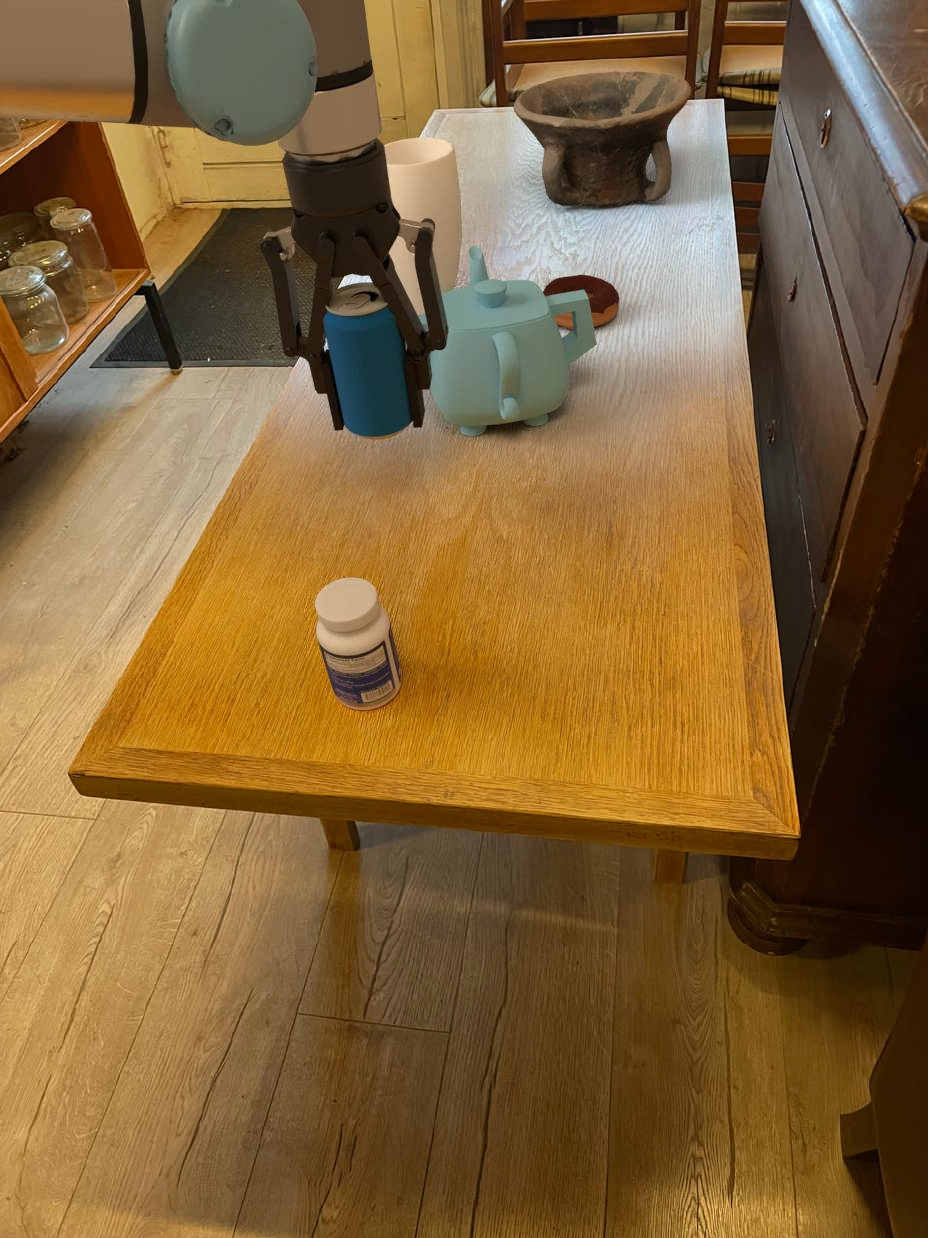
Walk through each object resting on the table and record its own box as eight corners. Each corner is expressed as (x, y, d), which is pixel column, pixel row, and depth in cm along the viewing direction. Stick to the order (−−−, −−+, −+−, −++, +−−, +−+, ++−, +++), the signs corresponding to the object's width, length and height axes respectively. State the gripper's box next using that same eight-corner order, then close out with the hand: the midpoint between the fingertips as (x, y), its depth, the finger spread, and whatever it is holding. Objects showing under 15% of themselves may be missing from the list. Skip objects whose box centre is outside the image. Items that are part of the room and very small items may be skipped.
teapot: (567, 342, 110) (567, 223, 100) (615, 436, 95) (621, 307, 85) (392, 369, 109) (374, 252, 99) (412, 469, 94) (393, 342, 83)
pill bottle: (349, 654, 75) (327, 566, 68) (412, 666, 73) (396, 577, 66) (321, 706, 71) (294, 618, 64) (387, 719, 70) (367, 631, 63)
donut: (628, 327, 112) (629, 296, 109) (551, 339, 111) (551, 308, 108) (606, 293, 119) (607, 263, 116) (534, 304, 118) (533, 274, 115)
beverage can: (430, 414, 81) (413, 287, 73) (388, 451, 77) (366, 321, 69) (373, 399, 84) (351, 274, 75) (331, 434, 80) (302, 307, 72)
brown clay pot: (527, 167, 156) (524, 69, 145) (682, 162, 151) (690, 61, 140) (507, 228, 137) (501, 121, 127) (683, 224, 132) (692, 113, 122)
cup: (489, 327, 114) (477, 147, 99) (425, 357, 110) (402, 174, 95) (440, 303, 121) (422, 129, 106) (377, 330, 117) (349, 154, 101)
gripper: (469, 118, 66) (489, 394, 82) (216, 137, 68) (284, 402, 84) (461, 153, 60) (485, 440, 77) (187, 172, 63) (266, 447, 79)
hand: (380, 420), depth 80 cm, fingers closed on beverage can, 6 cm apart
